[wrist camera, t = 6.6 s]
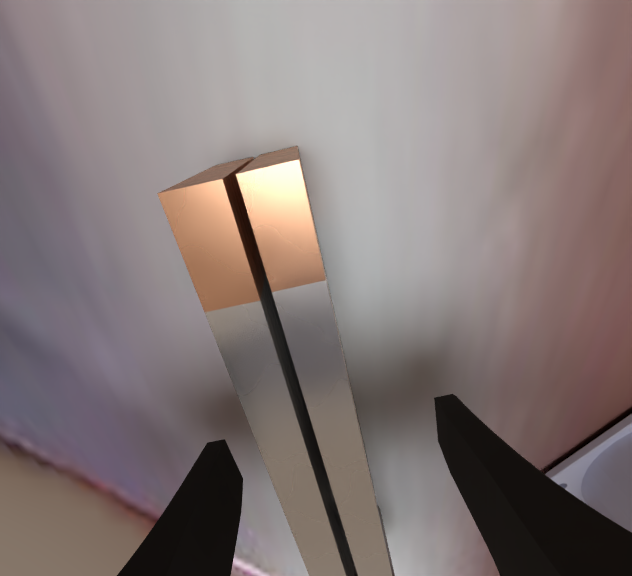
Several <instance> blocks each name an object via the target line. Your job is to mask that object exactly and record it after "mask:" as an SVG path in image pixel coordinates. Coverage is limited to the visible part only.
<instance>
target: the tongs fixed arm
mask: <svg viewBox="0 0 632 576" xmlns="http://www.w3.org/2000/svg"><path fill="white" fill-rule="evenodd" d="M236 176H237V180H238V183H239V186H240V189H241V193H242V196H243V199H244V203H245V206H246V209H247V212H248V216H249V219H250V222H251V226H252V229H253V232H254V235H255V239H256V242H257V245H258V249H259V252H260V255H261V258H262V262H263V265H264V268H265V272H266V275H267V278H268V281H269V285H270V288H271V291H272V295H273V298H274V301H275V304H276V308H277V311H278V314H279V318H280V321H281V324H282V327H283V331H284V334H285V337H286V341H287V344H288V347H289V350H290V354H291V357H292V360H293V364H294V367H295V370H296V374H297V377H298V380H299V383H300V387H301V390H302V393H303V397H304V400H305V403H306V406H307V410H308V413H309V416H310V420H311V423H312V426H313V429H314V433H315V436H316V439H317V443H318V446H319V449H320V452H321V456H322V459H323V462H324V466H325V469H326V472H327V475H328V479H329V482H330V485H331V489H332V492H333V495H334V498H335V502H336V505H337V508H338V512H339V515H340V518H341V521H342V525H343V528H344V531H345V535H346V538H347V541H348V544H349V548H350V551H351V554H352V561H353V569H354V576H395V575H394V570H393V566H392V561H391V557H390V552H389V548H388V543H387V539H386V534H385V530H384V525H383V520H382V516H381V511H380V508H379V507H378V505H377V502H376V497H375V493H374V488H373V484H372V479H371V475H370V470H369V466H368V461H367V457H366V452H365V448H364V443H363V439H362V434H361V430H360V425H359V421H358V416H357V412H356V407H355V403H354V398H353V394H352V389H351V385H350V380H349V376H348V371H347V367H346V362H345V358H344V353H343V349H342V345H341V340H340V336H339V331H338V327H337V322H336V318H335V313H334V309H333V304H332V300H331V295H330V291H329V286H328V282H327V277H326V273H325V268H324V264H323V259H322V255H321V250H320V246H319V241H318V237H317V232H316V228H315V223H314V219H313V214H312V210H311V205H310V201H309V196H308V192H307V187H306V183H305V178H304V174H303V169H302V165H301V160H300V156H299V151H298V147H297V146H295V147H291V148H287V149H282V150H278V151H274V152H270V153H266V154H261V155H259V156H258V157H257V158H256V159H254V160H253V161H252V162H251V163H249V164H248V165H247V166H246V167H244V168H243V169H242V170H241V171H239V172H238V173H237V174H236Z"/></svg>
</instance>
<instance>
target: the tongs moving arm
mask: <svg viewBox="0 0 632 576" xmlns="http://www.w3.org/2000/svg"><path fill="white" fill-rule="evenodd" d="M253 160H254V158H253V157H251V158H246V159H242V160H237V161H233V162H228V163H224V164H220V165H215V166H213V167H211V168H209V169H207V170H205V171H203V172H201V173H199V174H197V175H195V176H193V177H191V178H189V179H186V180H184V181H182V182H180V183H178V184H176V185H174V186H172V187H170V188H168V189H166V190H164V191H162V192H160V193H157V194H158V196H159V199H160V201H161V204H162V206H163V209H164V211H165V214H166V216H167V219H168V221H169V224H170V226H171V229H172V231H173V234H174V236H175V239H176V241H177V244H178V246H179V249H180V251H181V254H182V256H183V259H184V261H185V264H186V267H187V269H188V272H189V274H190V277H191V279H192V282H193V284H194V287H195V289H196V292H197V294H198V297H199V299H200V302H201V304H202V307H203V309H204V312H205V314H206V317H207V319H208V322H209V324H210V327H211V329H212V332H213V334H214V337H215V339H216V342H217V345H218V347H219V350H220V352H221V355H222V357H223V360H224V362H225V365H226V367H227V370H228V372H229V375H230V377H231V380H232V382H233V385H234V387H235V390H236V392H237V395H238V397H239V400H240V402H241V405H242V407H243V410H244V412H245V415H246V418H247V420H248V423H249V425H250V428H251V430H252V433H253V435H254V438H255V440H256V443H257V445H258V448H259V450H260V453H261V455H262V458H263V460H264V463H265V465H266V468H267V470H268V473H269V475H270V478H271V480H272V483H273V485H274V488H275V490H276V493H277V496H278V498H279V501H280V503H281V506H282V508H283V511H284V513H285V516H286V518H287V521H288V523H289V526H290V528H291V531H292V533H293V536H294V538H295V541H296V543H297V546H298V548H299V551H300V553H301V556H302V558H303V561H304V563H305V566H306V569H307V571H308V574H309V576H354V569H353V561H352V554H351V551H350V548H349V544H348V541H347V538H346V535H345V531H344V528H343V525H342V521H341V518H340V515H339V512H338V508H337V505H336V502H335V498H334V495H333V492H332V489H331V485H330V482H329V479H328V475H327V472H326V469H325V466H324V462H323V459H322V456H321V452H320V449H319V446H318V443H317V439H316V436H315V433H314V429H313V426H312V423H311V420H310V416H309V413H308V410H307V406H306V403H305V400H304V397H303V393H302V390H301V387H300V383H299V380H298V377H297V374H296V370H295V367H294V364H293V360H292V357H291V354H290V350H289V347H288V344H287V341H286V337H285V334H284V331H283V327H282V324H281V321H280V318H279V314H278V311H277V308H276V304H275V301H274V298H273V295H272V291H271V288H270V285H269V281H268V278H267V275H266V272H265V268H264V265H263V262H262V258H261V255H260V252H259V249H258V245H257V242H256V239H255V235H254V232H253V229H252V226H251V222H250V219H249V216H248V212H247V209H246V206H245V203H244V199H243V196H242V193H241V189H240V186H239V183H238V180H237V176H236V174H237V173H238V172H239V171H241V170H242V169H243V168H244V167H246V166H247V165H248V164H249V163H251V162H252V161H253Z"/></svg>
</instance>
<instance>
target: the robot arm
mask: <svg viewBox="0 0 632 576" xmlns="http://www.w3.org/2000/svg"><path fill="white" fill-rule="evenodd" d="M434 399H435V410H436V421H437V432H438V442H439V444H440V447H441V450H442V452H443V455H444V458H445V460H446V463H447V465H448V468H449V470H450V473H451V475H452V477H453V479H454V481H455V483H456V485H457V487H458V489H459V491H460V493H461V495H462V497H463V499H464V501H465V503H466V505H467V507H468V509H469V511H470V513H471V515H472V517H473V519H474V521H475V523H476V525H477V527H478V529H479V531H480V533H481V535H482V537H483V539H484V541H485V543H486V544H487V547H488V549H489V551H490V553H491V555H492V557H493V559H494V562H495V564H496V566H497V569H498V571H499V574H500V576H632V414H630V415H629V416H627V417H626V418H624V419H623V420H622V421H620V422H619V423H617V424H616V425H614V426H613V427H611V428H610V429H609V430H607V431H606V432H604V433H603V434H601V435H600V436H599V437H597V438H596V439H594V440H593V441H591V442H590V443H588V444H587V445H586V446H584V447H583V448H581V449H580V450H578V451H577V452H576V453H574V454H573V455H571V456H570V457H568V458H567V459H565V460H564V461H563V462H561V463H560V464H558V465H557V466H555V467H554V468H553V469H551V470H550V471H548V472H547V473H546V474H544V473H542V472H541V471H540V470H538V469H537V468H536V467H535V466H533V465H532V464H531V463H529V462H528V461H527V460H526V459H524V458H523V457H522V456H521V455H520V454H518V453H517V452H516V451H515V450H513V449H512V448H511V447H510V446H509V445H508V444H506V443H505V442H504V441H503V440H502V439H501V438H500V437H498V436H497V435H496V434H495V433H494V432H493V431H492V430H491V429H489V428H488V427H487V426H486V425H485V424H484V423H483V422H482V421H481V420H480V419H479V418H478V417H477V416H475V415H474V414H473V413H472V412H471V411H470V410H469V409H468V408H467V407H466V406H465V405H464V404H463V403H462V402H461V401H460V400H459V399H458V398H457V397H456V396H455V395H453V394H451V395H446V396H441V397H436V398H434ZM242 490H243V477H242V475H241V473H240V471H239V469H238V467H237V465H236V462H235V460H234V458H233V456H232V454H231V452H230V449H229V447H228V445H227V443H226V441H225V439H224V440H219V441H214V442H209V443H207V445H206V446H205V448H204V449H203V451H202V452H201V454H200V456H199V457H198V459H197V460H196V462H195V464H194V465H193V467H192V469H191V470H190V472H189V473H188V475H187V477H186V478H185V480H184V481H183V483H182V485H181V486H180V488H179V489H178V491H177V492H176V494H175V496H174V497H173V499H172V500H171V502H170V503H169V505H168V506H167V508H166V509H165V511H164V512H163V514H162V515H161V517H160V518H159V520H158V521H157V522H156V524H155V525H154V527H153V528H152V530H151V531H150V532H149V534H148V535H147V537H146V538H145V540H144V541H143V542H142V544H141V545H140V546H139V548H138V549H137V550H136V552H135V553H134V554H133V556H132V557H131V558H130V560H129V561H128V562H127V564H126V565H125V566H124V567H123V569H122V570H121V571H120V572H119V574H118V575H117V576H230V575H231V569H232V563H233V558H234V552H235V546H236V540H237V534H238V528H239V522H240V516H241V506H242Z"/></svg>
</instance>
